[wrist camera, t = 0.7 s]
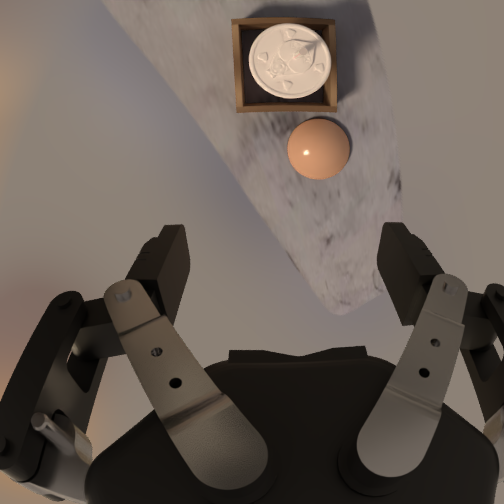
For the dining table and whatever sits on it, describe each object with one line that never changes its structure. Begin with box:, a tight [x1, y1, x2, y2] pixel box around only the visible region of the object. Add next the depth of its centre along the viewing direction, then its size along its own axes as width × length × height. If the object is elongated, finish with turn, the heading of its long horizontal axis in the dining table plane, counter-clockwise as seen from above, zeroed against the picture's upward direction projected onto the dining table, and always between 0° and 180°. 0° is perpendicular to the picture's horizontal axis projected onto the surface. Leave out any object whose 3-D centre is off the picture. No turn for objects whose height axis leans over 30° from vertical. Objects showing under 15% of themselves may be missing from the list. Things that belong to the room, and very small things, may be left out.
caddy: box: [231, 17, 337, 113], centre depth 27 cm, size 10×10×4 cm
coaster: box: [287, 119, 350, 179], centre depth 33 cm, size 7×7×1 cm
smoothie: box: [249, 23, 331, 98], centre depth 23 cm, size 6×6×14 cm
